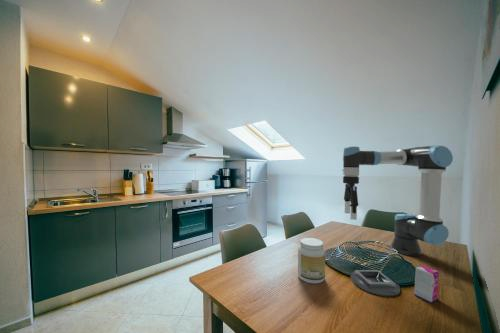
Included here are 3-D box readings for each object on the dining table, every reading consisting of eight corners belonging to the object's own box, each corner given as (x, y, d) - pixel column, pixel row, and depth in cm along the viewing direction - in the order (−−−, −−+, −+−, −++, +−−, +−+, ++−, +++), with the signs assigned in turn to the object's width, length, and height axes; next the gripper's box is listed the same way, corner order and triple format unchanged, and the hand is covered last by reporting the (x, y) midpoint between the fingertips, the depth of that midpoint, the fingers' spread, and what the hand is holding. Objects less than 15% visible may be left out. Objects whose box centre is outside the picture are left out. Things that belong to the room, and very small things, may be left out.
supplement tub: (330, 282, 93) (331, 245, 93) (306, 286, 89) (307, 247, 89) (314, 269, 104) (315, 236, 104) (293, 272, 101) (293, 238, 101)
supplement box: (431, 303, 79) (432, 274, 79) (413, 295, 85) (414, 267, 85) (438, 299, 82) (439, 270, 82) (420, 291, 87) (421, 264, 87)
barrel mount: (380, 272, 103) (380, 266, 103) (411, 296, 84) (412, 289, 84) (343, 272, 102) (343, 266, 102) (366, 296, 83) (366, 289, 83)
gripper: (338, 174, 122) (338, 210, 122) (348, 177, 98) (347, 221, 98) (352, 175, 120) (352, 211, 120) (366, 177, 96) (365, 223, 96)
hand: (350, 216), depth 109 cm, fingers open, 13 cm apart
